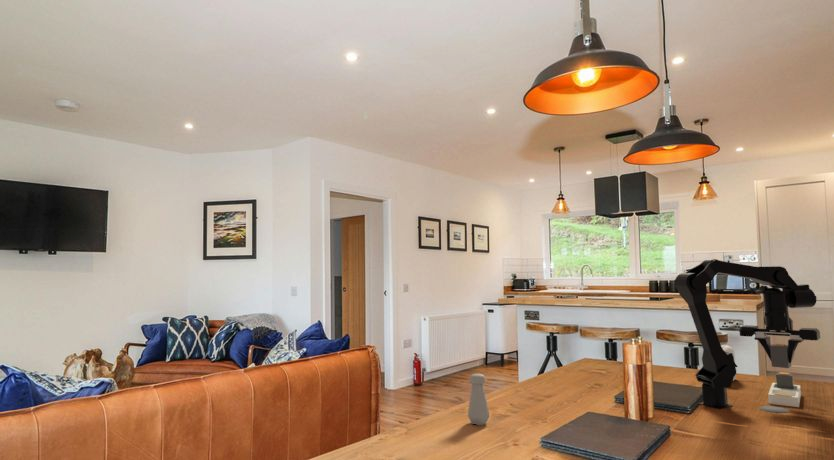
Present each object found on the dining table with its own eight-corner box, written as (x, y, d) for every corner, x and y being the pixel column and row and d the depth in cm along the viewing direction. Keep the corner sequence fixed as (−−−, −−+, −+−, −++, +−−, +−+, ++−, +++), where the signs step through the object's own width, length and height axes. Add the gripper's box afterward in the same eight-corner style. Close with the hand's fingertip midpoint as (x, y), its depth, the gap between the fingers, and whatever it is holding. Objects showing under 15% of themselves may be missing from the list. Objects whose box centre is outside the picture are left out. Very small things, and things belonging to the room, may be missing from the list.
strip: (799, 408, 140) (796, 382, 140) (768, 404, 144) (766, 379, 145) (802, 385, 165) (800, 364, 166) (776, 382, 170) (774, 362, 170)
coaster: (780, 416, 133) (780, 414, 133) (753, 409, 139) (753, 408, 139) (795, 412, 136) (795, 410, 136) (768, 406, 142) (768, 404, 142)
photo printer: (724, 377, 180) (721, 343, 181) (737, 379, 177) (735, 344, 178) (715, 382, 173) (713, 346, 174) (729, 384, 170) (727, 347, 171)
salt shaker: (491, 421, 135) (489, 372, 136) (487, 427, 129) (485, 377, 130) (470, 419, 137) (469, 371, 138) (465, 425, 131) (464, 375, 132)
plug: (791, 365, 145) (789, 344, 145) (788, 368, 142) (786, 346, 143) (774, 364, 148) (772, 343, 148) (771, 366, 145) (769, 344, 146)
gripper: (820, 307, 145) (826, 361, 144) (746, 305, 159) (751, 355, 157) (814, 310, 138) (819, 367, 136) (736, 308, 151) (741, 360, 150)
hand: (781, 362), depth 145 cm, fingers closed on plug, 4 cm apart
